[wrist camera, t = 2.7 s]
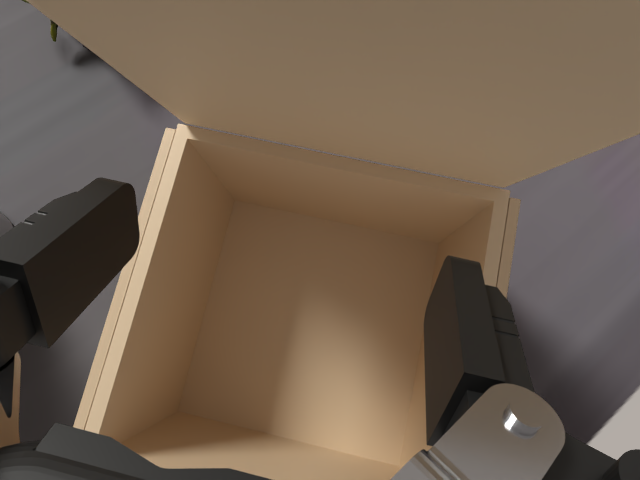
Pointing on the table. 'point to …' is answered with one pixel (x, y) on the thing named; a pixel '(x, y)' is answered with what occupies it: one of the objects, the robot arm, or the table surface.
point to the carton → (283, 308)
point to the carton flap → (385, 74)
